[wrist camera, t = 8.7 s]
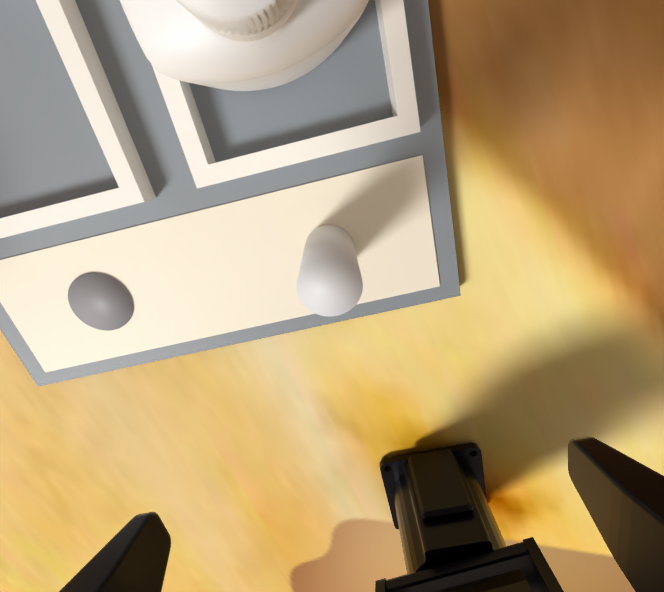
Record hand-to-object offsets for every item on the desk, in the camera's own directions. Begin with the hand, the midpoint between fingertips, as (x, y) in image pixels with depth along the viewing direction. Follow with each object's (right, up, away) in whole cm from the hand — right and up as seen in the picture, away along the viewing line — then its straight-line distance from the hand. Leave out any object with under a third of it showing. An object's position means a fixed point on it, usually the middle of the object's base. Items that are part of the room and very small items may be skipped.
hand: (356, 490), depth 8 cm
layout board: (-8, +10, +10) cm, 16 cm away
